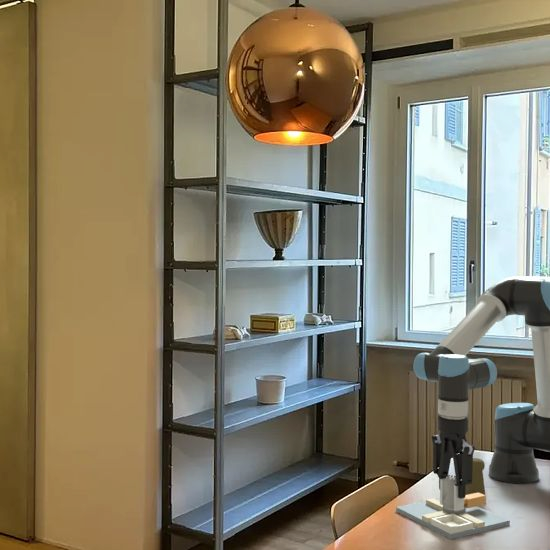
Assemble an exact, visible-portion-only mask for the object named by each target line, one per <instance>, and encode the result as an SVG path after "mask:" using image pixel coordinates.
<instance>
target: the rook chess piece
mask: <svg viewBox="0 0 550 550" xmlns="http://www.w3.org/2000/svg"><path fill="white" fill-rule="evenodd" d="M449 475H450V476H449ZM449 475H448V476H447V477H446V482H447V485H446V486H447V494H446V497H445V499H444V500H443V503H444V504H443V507H444V508H445V509H447V510H454V484H456V476H455V475H454V476H453V474H452V475H451V474H449Z"/></svg>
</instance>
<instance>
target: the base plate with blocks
mask: <svg viewBox="0 0 550 550" xmlns="http://www.w3.org/2000/svg"><path fill="white" fill-rule="evenodd" d="M395 509H396V512H397V513H398V514H401V515H403V516H404V517H406V518H408V519H411V520H412V521H414V522H417V523H418V524H419V525H422V526H424V527H427V528H428V529H430V530H432V531H434V532H436V533H438V534H440V535H442V536H444V537H446V538H448V539H450V540H454V539H458V538H462V537H467V536H470V535H474V534H478V533H479V534H480V533H482V532H486V531H487V532H488V531H491V530H495V529H500V528H503V527H506V526H510V520H509V519H507V518H505V517H504V516H500V515H498V514H496V513H494V512H492V511H489V510H487V509H484V508H482V507H480V506H476V507H471V508H466V506H465V505H464V510H459V511H454V510H447V509H445V508H444V507H443V505H441V504H440V497H438V498H433V497H432V498H428V499H427V498H426V500H424V501H418V502H414V503H409V504H404V505H399V506H396V507H395ZM449 514H455V515H457V516H459V517H462V518H464V519H466V520H468V521H470V522H472V523H473V529H470V530H466V531H462V532H458V533H453V534H450V533H448V532H446V531H444V530H442V529H440V528H438V527H436V526H434V525H432V524H431V518H435V517H440V516H444V515H449Z"/></svg>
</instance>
